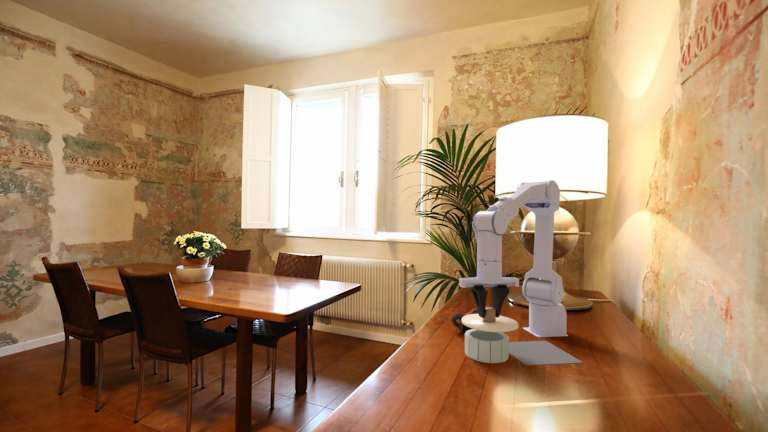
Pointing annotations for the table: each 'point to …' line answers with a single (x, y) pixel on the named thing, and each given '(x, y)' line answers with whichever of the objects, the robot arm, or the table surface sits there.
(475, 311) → the dark brown rounded loops
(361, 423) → the table surface
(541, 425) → the table surface
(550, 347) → the mat
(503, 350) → the bowl
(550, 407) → the table surface
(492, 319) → the lid
